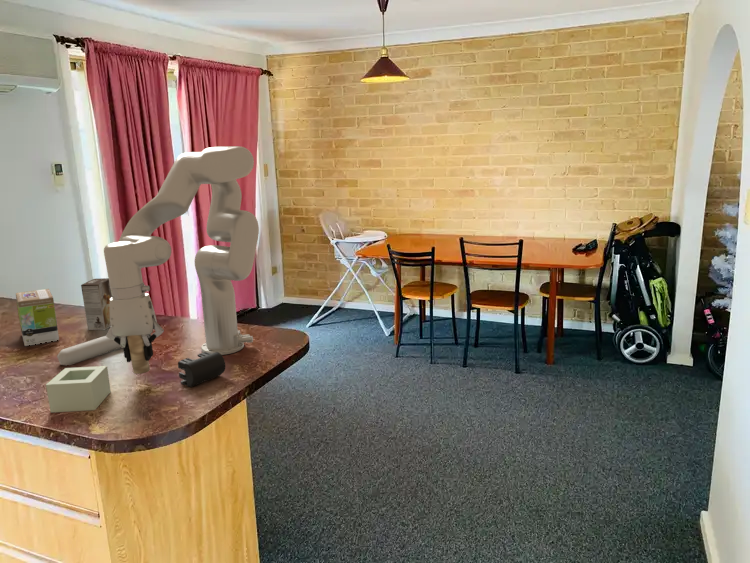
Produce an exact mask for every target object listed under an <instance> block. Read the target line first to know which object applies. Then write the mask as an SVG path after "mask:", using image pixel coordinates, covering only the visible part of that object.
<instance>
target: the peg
mask: <svg viewBox="0 0 750 563" xmlns="http://www.w3.org/2000/svg"><path fill="white" fill-rule="evenodd" d="M127 339H128V345H129V351H130V356H131V361H130V363H131V367H132V372H133V374H134V375H143V374H146V373H148V372H149V371H150V370H151V368H150V362H149V361H150V360H149V361H146V360H145V354H144V348H143V347H144V346H145V343H144V340H143V338H142V335H139V336H138V335H131V336H127Z"/></svg>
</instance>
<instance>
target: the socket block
mask: <svg viewBox="0 0 750 563" xmlns="http://www.w3.org/2000/svg"><path fill="white" fill-rule="evenodd" d="M45 388H46V394H47V399H48V404H49V410H50V411H49V412H50V413H64V412H66V413H67V412H69V413H70V412H82V411H84V412H85V411H96V409H97V408H98V407H99V406H100V405H101V404H102V402H103V401H104V400H105V399H106V398H107V397H108V396H109V394H110V393H111V392H112V391H111V384H110V378H109V370H108V366H107V365H103V366H101V365H99V366H96V365H95V366H81V367H64V369H62V370H61V371H60V372H59V373H58V374H57V375H55V376H54V377H53V378H52V379H51V380H50V381H49V382H47V383H46V384H45Z"/></svg>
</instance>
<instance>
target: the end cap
mask: <svg viewBox="0 0 750 563" xmlns="http://www.w3.org/2000/svg"><path fill="white" fill-rule="evenodd" d="M197 357H199V358H195V359H191V358H188V357H186V358H184V359H181V360H179V361H178V362H177V368H178V369H180V370H183V371H184V372H178V377H179V378H180V379H181V381H180V384H181V385H183V386H185V385H186V387H188V388H193V387H195V386H198V385H200V384H202V383H206V382H208V381H209V380H212V379H215V378H217V377H219V376H221V375H222V374H223V373H224V372H225V370H226V361H225V358H224V357H223V355H221V354H220V353H219V352H215V353H212V354H211V353H208V352H201V353H198V354H197Z"/></svg>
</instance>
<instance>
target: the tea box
mask: <svg viewBox="0 0 750 563" xmlns="http://www.w3.org/2000/svg"><path fill="white" fill-rule="evenodd" d="M15 297H16V299H15V300H16V307H17V308H16V309H17V315H18V319H19V320H18V322H19V327H20V332H21V336H22V341H23V345H24V347H28V346H29V345H30V346H35V344H36V345H41V344H40V343H42V344H46V343H45V342H47V343H52V342H51V341H53V342H57V340H58V341H59V340H60V338H59V337H60V336H59V328H58V321H57V313H56V308H55V302H54V297H53V294H52V293H51V290H50V288H46V289H45V288H44V289H36V290H29V291H20V292H16V293H15Z"/></svg>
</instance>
